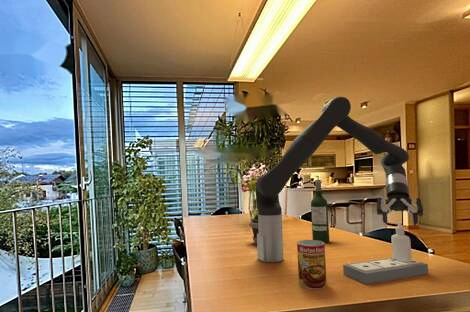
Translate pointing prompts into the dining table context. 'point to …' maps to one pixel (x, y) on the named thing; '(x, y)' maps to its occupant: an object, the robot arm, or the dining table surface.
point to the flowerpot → (255, 228)
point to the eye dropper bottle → (401, 245)
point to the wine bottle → (319, 215)
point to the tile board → (384, 270)
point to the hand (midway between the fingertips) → (400, 223)
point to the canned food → (311, 264)
